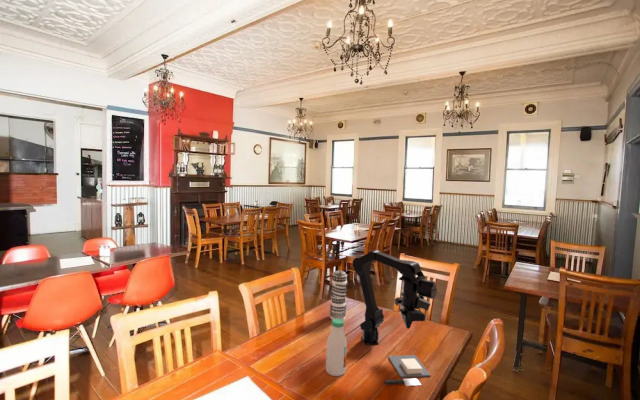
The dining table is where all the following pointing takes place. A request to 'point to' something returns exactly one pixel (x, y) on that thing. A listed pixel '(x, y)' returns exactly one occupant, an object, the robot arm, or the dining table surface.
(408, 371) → the tile
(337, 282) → the decorative candle
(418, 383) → the turner
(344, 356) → the milk bottle
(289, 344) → the dining table surface
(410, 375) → the mat
